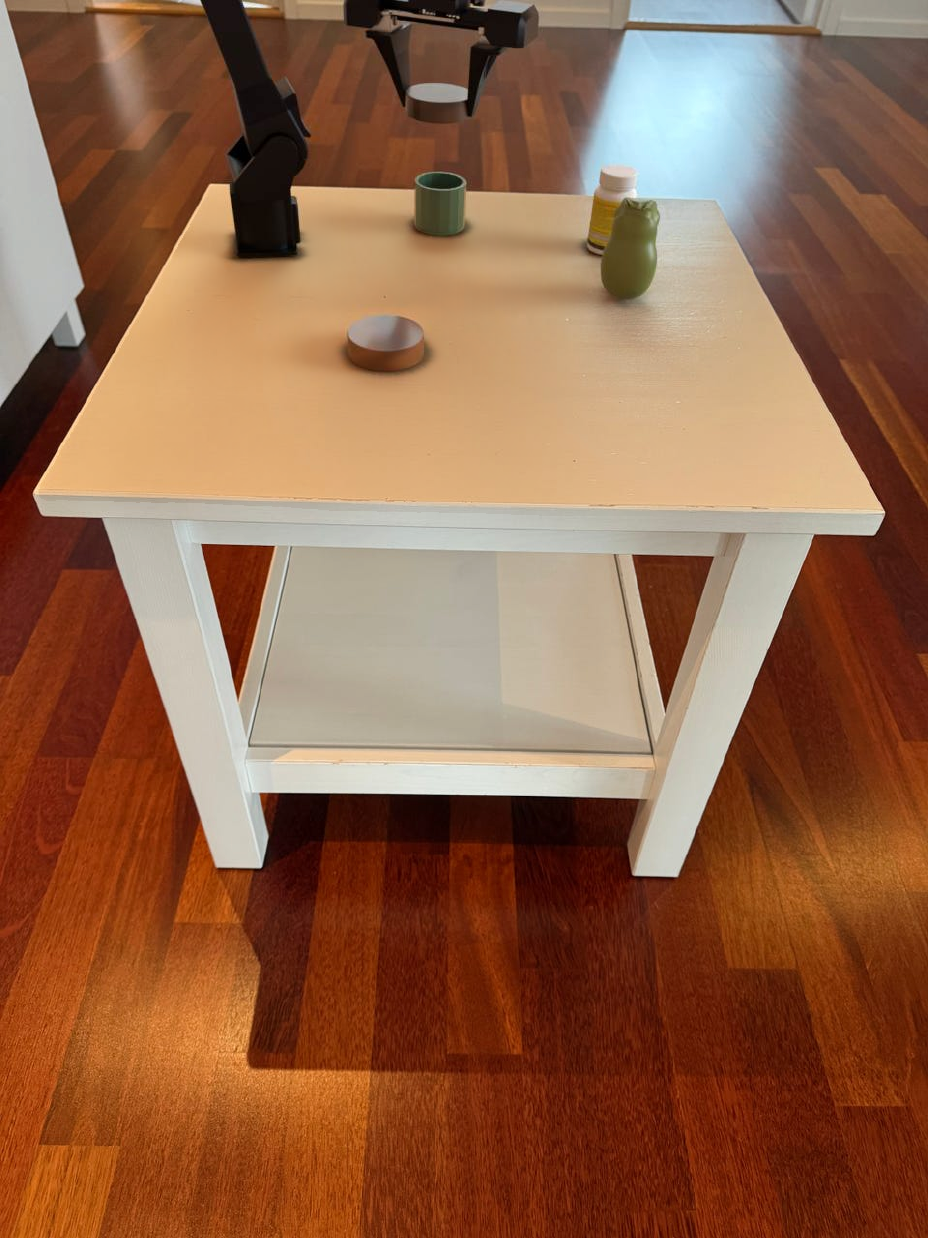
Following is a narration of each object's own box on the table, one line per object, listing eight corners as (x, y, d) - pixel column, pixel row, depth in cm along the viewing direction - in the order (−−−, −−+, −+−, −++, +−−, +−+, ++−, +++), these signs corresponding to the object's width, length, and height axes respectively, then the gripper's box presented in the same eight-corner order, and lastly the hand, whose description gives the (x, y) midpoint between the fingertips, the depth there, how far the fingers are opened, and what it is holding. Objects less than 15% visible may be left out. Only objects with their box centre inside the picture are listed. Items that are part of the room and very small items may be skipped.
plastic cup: (418, 236, 104) (419, 190, 101) (411, 216, 108) (411, 172, 105) (468, 234, 105) (470, 189, 102) (459, 215, 109) (460, 170, 106)
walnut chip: (410, 124, 94) (410, 102, 92) (400, 103, 99) (400, 82, 97) (477, 123, 95) (478, 101, 93) (464, 102, 100) (465, 82, 98)
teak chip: (352, 373, 82) (351, 353, 81) (344, 336, 87) (343, 316, 86) (429, 369, 83) (429, 348, 82) (417, 332, 88) (417, 312, 87)
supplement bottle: (620, 260, 102) (633, 181, 96) (580, 251, 103) (591, 172, 97) (633, 245, 105) (646, 167, 99) (594, 236, 106) (605, 159, 101)
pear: (593, 303, 94) (608, 203, 87) (599, 282, 98) (613, 184, 91) (648, 311, 93) (667, 210, 86) (651, 289, 97) (670, 190, 90)
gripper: (560, -75, 89) (543, 103, 100) (382, -94, 93) (384, 79, 104) (530, -58, 82) (515, 132, 93) (337, -79, 85) (345, 106, 96)
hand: (438, 111), depth 97 cm, fingers closed on walnut chip, 7 cm apart
